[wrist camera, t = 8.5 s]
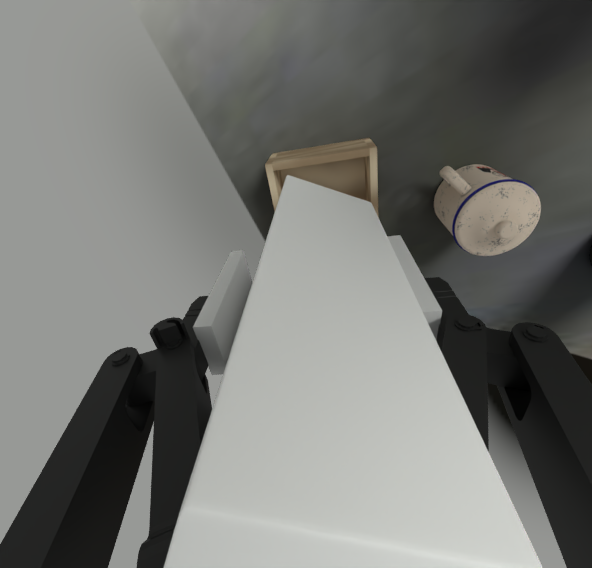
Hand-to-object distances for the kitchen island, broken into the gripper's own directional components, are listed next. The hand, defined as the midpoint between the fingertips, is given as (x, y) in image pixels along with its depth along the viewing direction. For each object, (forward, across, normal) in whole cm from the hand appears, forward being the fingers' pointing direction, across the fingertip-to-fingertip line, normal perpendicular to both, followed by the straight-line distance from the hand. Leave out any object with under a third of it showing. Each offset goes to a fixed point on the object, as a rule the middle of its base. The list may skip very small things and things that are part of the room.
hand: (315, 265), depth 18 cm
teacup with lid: (+28, +19, -6) cm, 34 cm away
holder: (+28, +1, -4) cm, 28 cm away
